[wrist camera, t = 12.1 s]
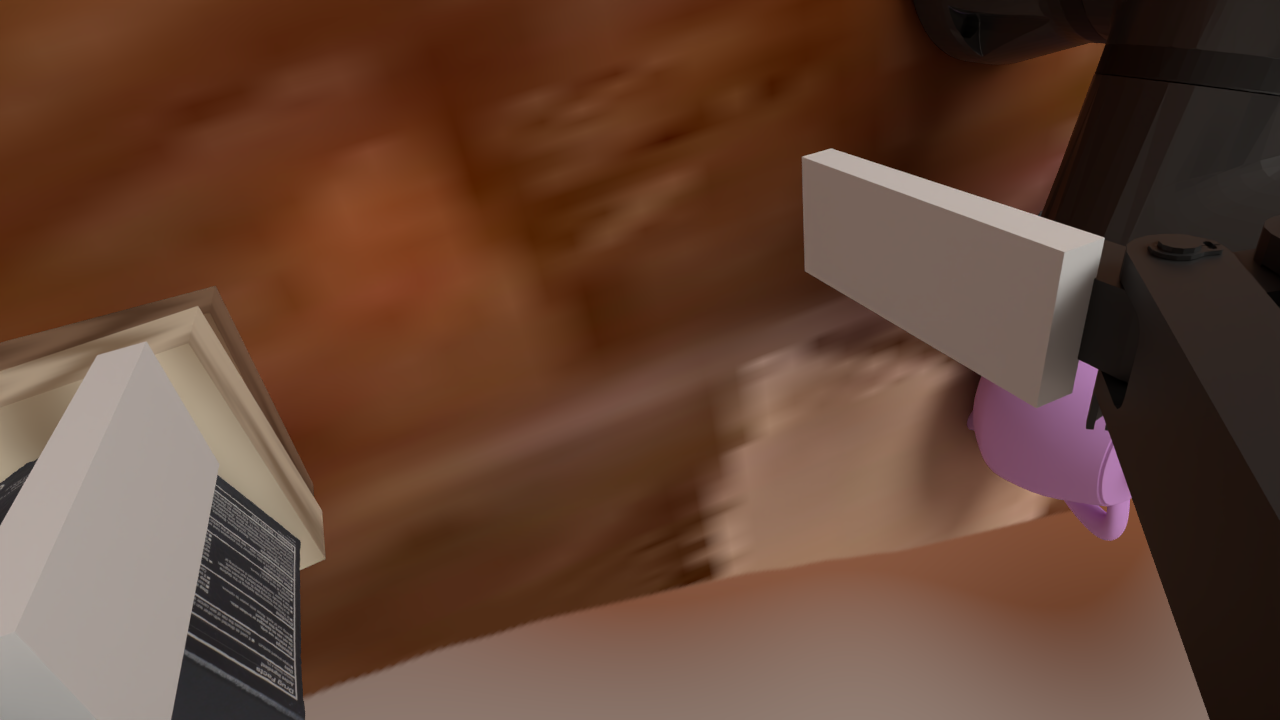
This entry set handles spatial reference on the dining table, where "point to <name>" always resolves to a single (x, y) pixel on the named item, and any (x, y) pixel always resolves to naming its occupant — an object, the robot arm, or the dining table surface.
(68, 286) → the dining table surface
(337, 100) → the dining table surface
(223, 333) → the tower base block
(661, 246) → the dining table surface
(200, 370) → the tower top block
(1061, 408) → the teapot
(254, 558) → the small box
